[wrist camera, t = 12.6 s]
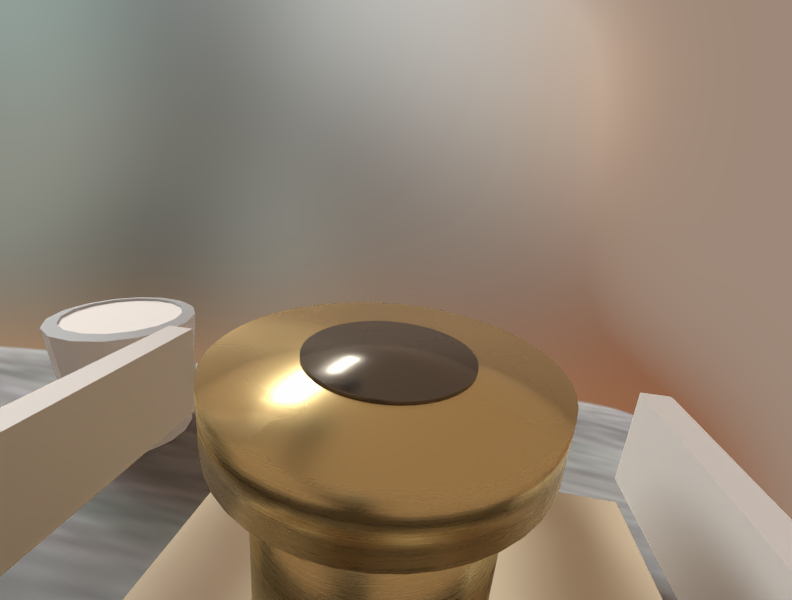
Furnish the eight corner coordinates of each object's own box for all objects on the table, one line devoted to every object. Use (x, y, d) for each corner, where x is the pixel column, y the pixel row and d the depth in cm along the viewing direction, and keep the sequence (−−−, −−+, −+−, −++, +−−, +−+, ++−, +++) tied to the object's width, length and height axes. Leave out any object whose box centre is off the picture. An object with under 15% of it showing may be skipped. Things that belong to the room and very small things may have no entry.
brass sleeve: (166, 928, 8) (69, 426, 5) (292, 609, 14) (293, 287, 11) (480, 1040, 7) (663, 535, 4) (471, 651, 13) (537, 317, 10)
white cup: (157, 384, 28) (145, 288, 26) (227, 414, 25) (222, 310, 23) (37, 436, 22) (10, 318, 20) (113, 484, 19) (91, 352, 17)
